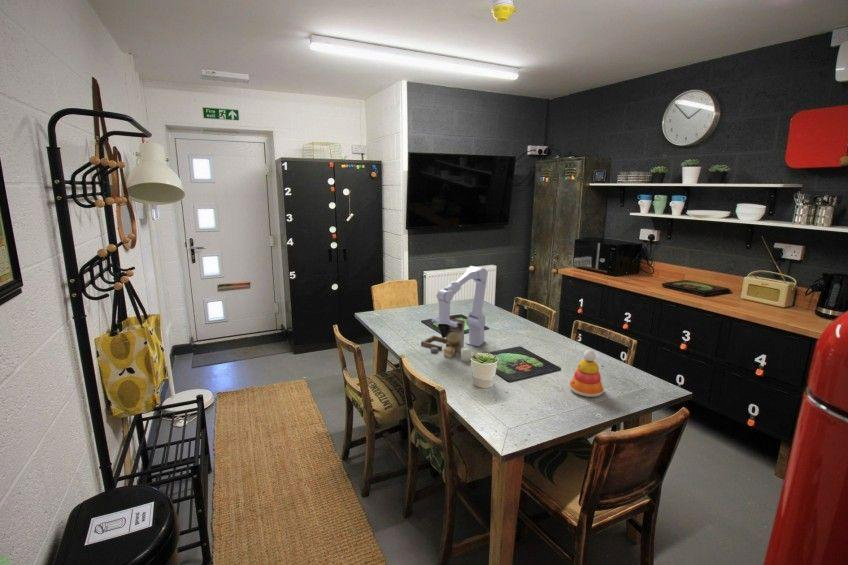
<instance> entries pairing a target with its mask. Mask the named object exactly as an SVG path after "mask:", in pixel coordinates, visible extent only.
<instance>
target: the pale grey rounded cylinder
mask: <svg viewBox="0 0 848 565" xmlns="http://www.w3.org/2000/svg"><path fill="white" fill-rule="evenodd" d="M471 351H472V349H471V348H470V347H469V346H465V347H463V348H461V352H460V361H461V362H463V363H468V362H471V360H470V359H472V358H471V356H472V352H471Z"/></svg>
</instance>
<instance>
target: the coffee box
mask: <svg viewBox="0 0 848 565" xmlns="http://www.w3.org/2000/svg"><path fill="white" fill-rule="evenodd" d="M450 320H451V321H453V322H456V323H457V327H454V326H450V327H449V329H448V332H447V335H446V337H445V338H446V343H445V348H446V347H448V346H449V347H452V348H454V352H459V353H461V348H463V347H464V343H465V342H464V341H465V338H464V337H465V320H462V319H454V318H450Z"/></svg>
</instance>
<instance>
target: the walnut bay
mask: <svg viewBox="0 0 848 565" xmlns="http://www.w3.org/2000/svg"><path fill="white" fill-rule="evenodd" d="M432 341H438V342H443V343H445V344H446V337H445V338H442V336H437V335H431V336H429V337H428V338H425V339H423V340H421V341H420V345H421V346H423V347H426V348H430V349H431V348H432V347H437V348H438V351H442V350H443V346H442V345H439V344H434V343H431V342H432Z"/></svg>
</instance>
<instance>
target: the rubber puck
mask: <svg viewBox="0 0 848 565" xmlns="http://www.w3.org/2000/svg"><path fill="white" fill-rule="evenodd" d="M430 353H432V354H438V353H439V350H438V348H437V347H432V348H430Z"/></svg>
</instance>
